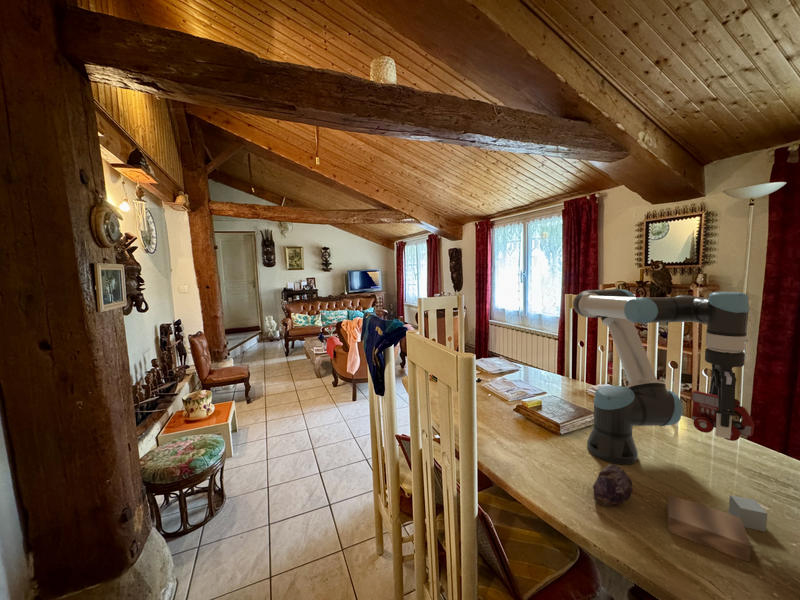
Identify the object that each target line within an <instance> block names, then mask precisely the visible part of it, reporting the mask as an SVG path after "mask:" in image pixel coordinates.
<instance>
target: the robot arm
mask: <svg viewBox="0 0 800 600" xmlns="http://www.w3.org/2000/svg"><path fill="white" fill-rule="evenodd" d="M749 297H750V296H749V295H748V294H747V293H744V292H739V291H713V292H710V293H709V295H708V297H703V296H696V295H695V296H694V295H689V294H688V295H683V294H682V295H677V296H665V297H662V296H661V297H644V296H643V297H642V296H641V297H638V296H637V297H636V296H635V295H634V293H632V292H631V291H630V290H627V289H619V288H614V289H587V290H584V291H581V292H579V293H578V294H577V295H576V296H575V297H574V298H573V301H572V307H573V310H574V311H575V313H576V314H578V315H579V316H581V317H584V318H600V319H601V323H602V324H603V325H604V326H606V327H608V329H609V333H610V335H611V338H612V341H613V343H614V346H615V348H616V349H615V350H616V352H617V354H618V357H619V360H620V363H621V365H622V367H623V371H624V373H625V375H626V376H625V377H626V379H627V382H628V385H627V386H626V387H625V386H622V385H615V384H614V385H604V386H600V387H598V388H597V389H596V390H595V392H594V396H593V427H592V429H591V432H590V434H589V436H588V439H587V441H586V443H587V444H586V448H587V450H588V451H589V452H590V453H591V454H592V455H593V456H595V457H596V458H598V459H600V460H603V461H605V462H607V463H610V464H616V465H627V466H628V465H632V464H635V463H637V461H638V449H637V447H636V443H635V440H634V438H633V429H634V427H642V426H643V427H644V426H647V427H648V426H651V427H652V426H653V427H656V426H658V427H665V426H674V425H675V424H678V423H679V422H680V420H681V418H682V416H683V404H682V401H681V399H680V397H679V396H678V395H677V394H676V393H675V392H674V391H671V390H669V389H667V387H666V385H665V383H664V382H662V381H660V380H659V379H657V377H656V374H655V372H654V369H653V367H652V364H651V361H650V359H649V358H648V355H647V353H646V350H645V347H644V345H643V342H642V340H641V338H640V335H639V333H638V331H637V328H636V326H635V324H636V323H637V324H650V323H651V324H652V323H688V322H689V323H698V324H703V325H706V332H705V347H707V348H705V350H704V360H705V361H704V362H706V363H708V364H711V373H710V374H711V376H710V384H709V391H708V394H713V395H717V396H718V411H716V410H715V413H717V419H716V427H715V433H714V434H715V435H714V436H715V437H719V438H723V439H724V438H727V439H730V437H731V424H732V416H735V399H736V383H737V378H736V373H735V372H734V371H733V368H740V367H741V368H742V367H743V366H745V360H746V353H745V351H746V345H747V344H746V343H749V342H750V340H749V338H747V331H748V320H749V312H750V302H749V299H750V298H749ZM727 439H726V440H727Z"/></svg>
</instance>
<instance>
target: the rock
mask: <svg viewBox="0 0 800 600" xmlns="http://www.w3.org/2000/svg"><path fill="white" fill-rule="evenodd" d="M592 488H593V499H594V501H595V502H596V503H597V504H599V505H601V506H602V507H611V506H614V505H619V506H621V505H623V504H624V502H625V501H628V500H629V499H630V498H631V496H632V493H633V492H634V491H633V483H632V479H631V478H630V477H629V475H628V473H627V472H625V470H623V469H622V468H621V467H620V466H619V465H618V464H615V463H609V464H608V465H607V466H606V467H603V468H602V469H601V470H600V472H598V474H597V478H596V480H595V482H594V483H593V486H592Z"/></svg>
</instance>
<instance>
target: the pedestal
mask: <svg viewBox="0 0 800 600" xmlns="http://www.w3.org/2000/svg"><path fill="white" fill-rule="evenodd" d="M666 506H667V507H666V512H667V514H666V515H667V529H668V530H667V532H668V533H671V534H673V535H676V536H680V537H682V538H684V539H687V540H690V541H692V542H695V543H698V544H701V545H703V546H705V547H707V548H711V549H714V550H717V551H718V552H722V553H724V554H727V555H728V556H729V555H730V556H732V557H734V558H737V559H740V560H742V561H744V562H748V563H750V557H751V555H750V554H751V544H750V543H751V542H750V540H749V537H748V535H747V531H746V527H744V525H743V521H742V518H740V517H737V516H734V515H731V514H730V513H728V512H723V511H721V510H718V509H715V508H712V507H708V506H705V505H703V504H702V505H701V504H699V503H697V502H693V501H690V500H687V499H684V498H680V497H677V496H674V495H672V494H667V504H666Z"/></svg>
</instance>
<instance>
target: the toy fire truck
mask: <svg viewBox="0 0 800 600" xmlns="http://www.w3.org/2000/svg"><path fill="white" fill-rule="evenodd" d="M690 396H691V397H690V399H691V401H692V410H691V420H692V421H693V426H694V428H695V429H696V430H698V431H699V432H701V433H705V434H706V433H708V434H709V433H711V432H712V431H713V430H714V429H715V428H716V419H717V413H715V410H716V411H718V396H717V395H713V394H709V392H704V391H699V390H693V391H692V392H691V395H690ZM741 419H742V420H741ZM754 428H755V423H754V421H753V419H752V418H751V416H750V414H749V412H748V410H747V408H746V407H744V406H743V405H742V406H741V402H740V401H739V400H738V399H737V398H735V416H732V424H731V437H730V439H727V438H723V440H727V441H732V442H735V441H738V440H739V439H740V437H741V436H744V437H750V438H751V437H752V436H753V435H754V430H755V429H754Z"/></svg>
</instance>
